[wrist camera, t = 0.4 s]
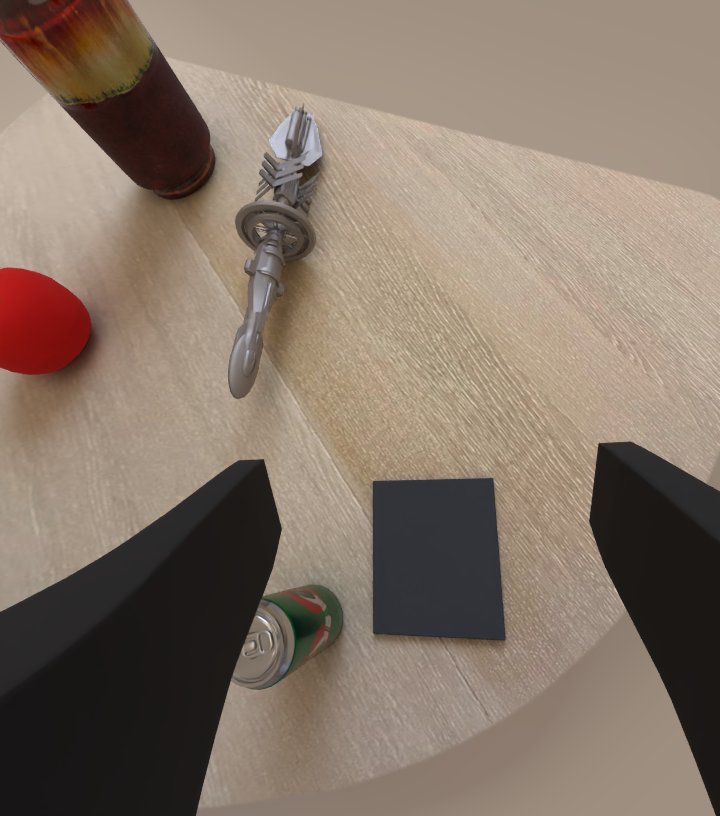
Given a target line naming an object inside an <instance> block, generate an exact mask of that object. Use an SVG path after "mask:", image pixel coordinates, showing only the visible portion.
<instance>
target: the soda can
mask: <svg viewBox="0 0 720 816" xmlns="http://www.w3.org/2000/svg"><path fill="white" fill-rule="evenodd" d="M342 623H343V613H342V608H341V605H340V603H339V601H338V599H337V597H336V596H335V595H334V594H333V593H332V592H331V591H330V590H329V589H327V588H325V587H323V586H320V585H307V586H302V587H298V588H294V589H290V590H286V591H282V592H278V593H274V594H269V595H265V596H262V599H261V601H260V604H259V606H258V609H257V612H256V614H255V617H254V620H253V622H252V625H251V627H250V630H249V633H248V635H247V638H246V640H245V643H244V646H243V648H242V651H241V653H240V656H239V659H238V661H237V664H236V667H235V670H234V673H233V676H232V679H231V681H232V682H233V683H235V684H237V685H239V686H242V687H246V688H249V689H257V690H260V689H266V688H268V687H271V686H273V685H275V684H276V683H278V682H279V681H281V680H282V679H284V678H285V677H287V676H288V675H289V674H291V673H292V672H294V671H295V670H297V669H298V668H299V667H301V666H302V665H304V664H305V663H307V662H308V661H310V660H311V659H312V658H314V657H315V656H317V655H318V654H320V653H321V652H322V651H324V650H325V649H327V648H328V647H330V646H331V645H332V644H333V643H334V642H335V641H336V639H337V638H338V636H339V634H340V631H341V628H342Z"/></svg>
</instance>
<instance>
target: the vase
mask: <svg viewBox="0 0 720 816" xmlns="http://www.w3.org/2000/svg"><path fill="white" fill-rule="evenodd" d="M0 41H1V42H2V44H3V45H4V46H5V47H6V48H7V49H8V50H9V51H10V52H11V53H12V54H13V56H14V57H15V58H16V59H17V60H18V61H19V62H20V63H21V64H22V65H23V66H24V67H25V68H26V69H27V70H28V71H29V73H30V74H31V75H32V76H33V77H34V78H35V79H36V80H37V81H38V82H39V83H40V84H41V85H42V86H43V87H44V88H45V89H46V91H47V92H48V93H49V94H50V95H51V96H52V97H53V98H54V99H55V100H56V101H57V102H58V103H59V104H60V105H61V106H62V107H63V109H64V110H65V111H66V112H67V113H68V114H69V115H70V116H71V117H72V118H73V119H74V120H75V121H76V122H77V123H78V124H79V125H80V126H81V127H82V129H83V130H84V131H85V132H86V133H87V134H88V135H89V136H90V137H91V138H92V139H93V140H94V141H95V142H96V143H97V144H98V145H99V146H100V147H101V148H102V149H103V151H104V152H105V153H106V154H107V155H108V156H109V157H110V158H111V159H112V160H113V161H114V162H115V163H116V164H117V165H118V166H119V167H120V168H121V169H122V170H123V171H124V172H125V173H126V174H127V175H128V176H129V177H130V178H131V179H132V180H133V181H134V182H135V183H136V184H137V185H139V186H141V187H143V188H145V189H149V190H153V191H154V192H155V193H156V194H157V195H158V196H160V197H162V198H165V199H179V198H183V197H186V196H188V195H190V194H192V193H194V192H195V191H197V190H198V189H199V188H200V187H201V186H202V185H203V184H204V183H205V182H206V181H207V180H208V178H209V177H210V175H211V173H212V171H213V168H214V165H215V153H214V150H213V148H212V146H211V145H210V133H209V129H208V127H207V125H206V123H205V121H204V120H203V118H202V116H201V115H200V113H199V111H198V110H197V108H196V106H195V105H194V103H193V102H192V100H191V99H190V97H189V95H188V94H187V92H186V91H185V89H184V88H183V86H182V84H181V83H180V81H179V80H178V78H177V77H176V75H175V73H174V72H173V70H172V69H171V67H170V66H169V64H168V62H167V61H166V59H165V58H164V56H163V55H162V53H161V52H160V50H159V48H158V47H157V45H156V44H155V42H154V40H153V39H152V37H151V36H150V34H149V33H148V31H147V30H146V28H145V27H144V25H143V24H142V22H141V20H140V19H139V17H138V16H137V14H136V13H135V11H134V9H133V8H132V6H131V5H130V3H129V2H128V0H0Z"/></svg>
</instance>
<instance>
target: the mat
mask: <svg viewBox="0 0 720 816" xmlns="http://www.w3.org/2000/svg"><path fill="white" fill-rule="evenodd" d="M373 633H374V634H390V635H409V636H429V637H448V638H468V639H487V640H505V628H504V615H503V601H502V588H501V575H500V562H499V549H498V536H497V523H496V510H495V497H494V484H493V478H480V479H441V480H402V481H373Z"/></svg>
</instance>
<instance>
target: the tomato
mask: <svg viewBox="0 0 720 816" xmlns="http://www.w3.org/2000/svg"><path fill="white" fill-rule="evenodd" d="M90 332H91V320H90V316H89V313H88V311H87V309H86V308H85V306H84V305H83V303H82V302H81V301H80V300H79V299H78V298H77V297H76V296H75V295H74V294H73V293H71V292H70V291H69V290H68V289H66V288H65V287H64V286H62V285H61V284H59V283H58V282H56V281H55V280H53V279H52V278H50V277H47V276H45V275H43V274H41V273H37V272H34V271H30V270H25V269H20V268H2V269H0V368H3V369H6V370H9V371H11V372H15V373H21V374H28V375H35V374H46V373H50V372H54V371H57V370H60V369H61V368H63V367H65V366H66V365H67V364H69V363H70V362H71V361H72V360H73V359H75V358H76V357H77V356H78V354H79V353H80V352H81V351H82V350H83V348H84V347H85V345H86V343H87V341H88V339H89V335H90Z"/></svg>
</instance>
